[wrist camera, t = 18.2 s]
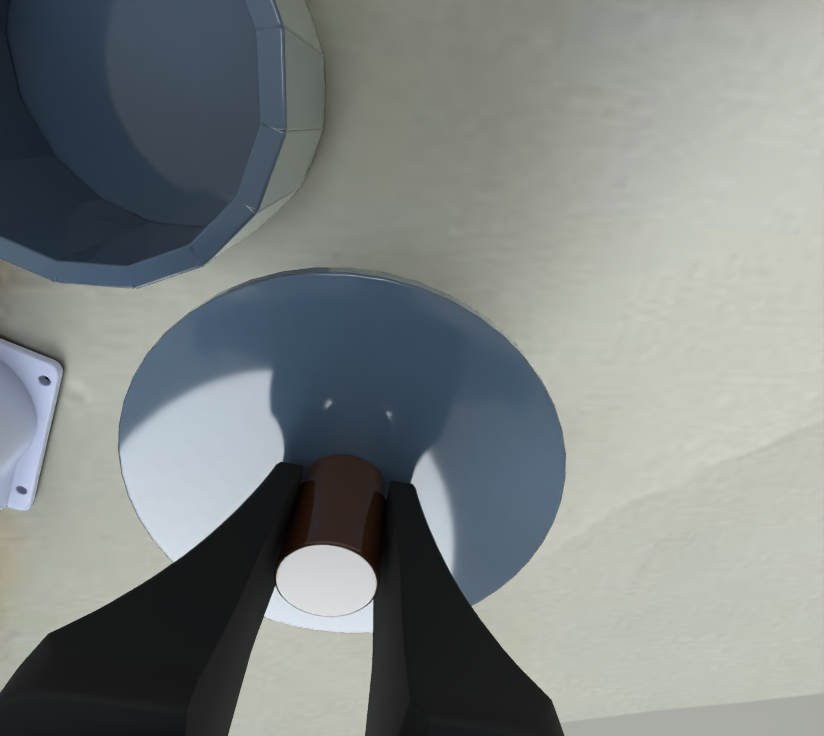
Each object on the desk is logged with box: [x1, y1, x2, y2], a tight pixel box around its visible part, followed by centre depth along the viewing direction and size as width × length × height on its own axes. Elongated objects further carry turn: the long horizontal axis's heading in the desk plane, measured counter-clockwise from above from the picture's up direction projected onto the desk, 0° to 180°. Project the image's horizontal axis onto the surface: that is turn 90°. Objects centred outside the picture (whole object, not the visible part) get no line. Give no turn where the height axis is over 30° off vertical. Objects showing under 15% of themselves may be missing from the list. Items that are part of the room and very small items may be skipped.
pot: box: [0, 0, 325, 289], centre depth 15 cm, size 11×11×6 cm
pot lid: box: [118, 268, 566, 633], centre depth 13 cm, size 12×12×4 cm
